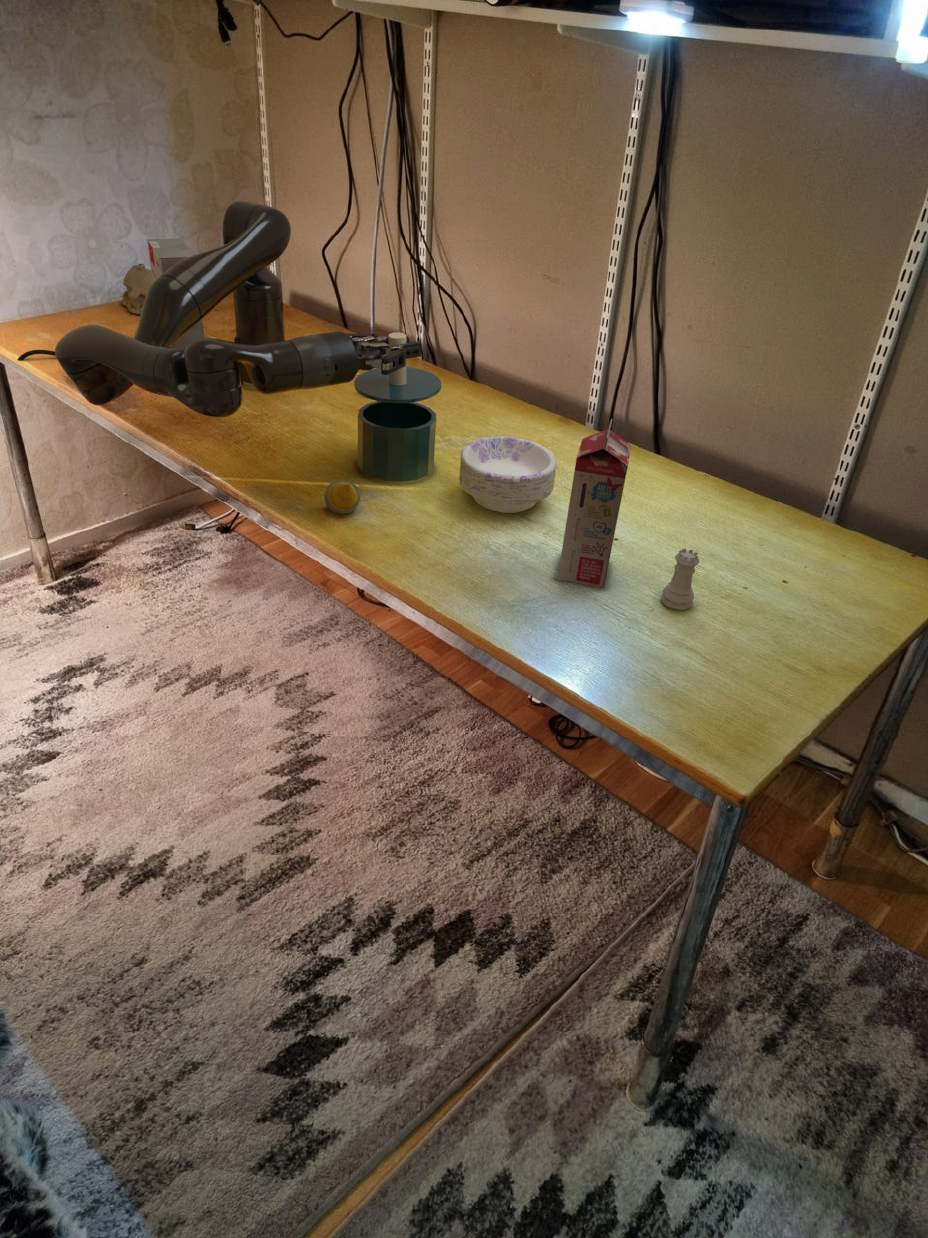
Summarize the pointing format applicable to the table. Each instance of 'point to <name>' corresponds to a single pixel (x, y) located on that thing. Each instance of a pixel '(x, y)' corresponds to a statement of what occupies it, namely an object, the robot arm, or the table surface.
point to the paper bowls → (507, 473)
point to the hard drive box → (161, 260)
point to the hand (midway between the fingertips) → (413, 345)
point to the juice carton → (594, 508)
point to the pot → (396, 440)
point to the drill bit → (342, 497)
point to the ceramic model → (136, 287)
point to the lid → (398, 381)
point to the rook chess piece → (681, 582)
